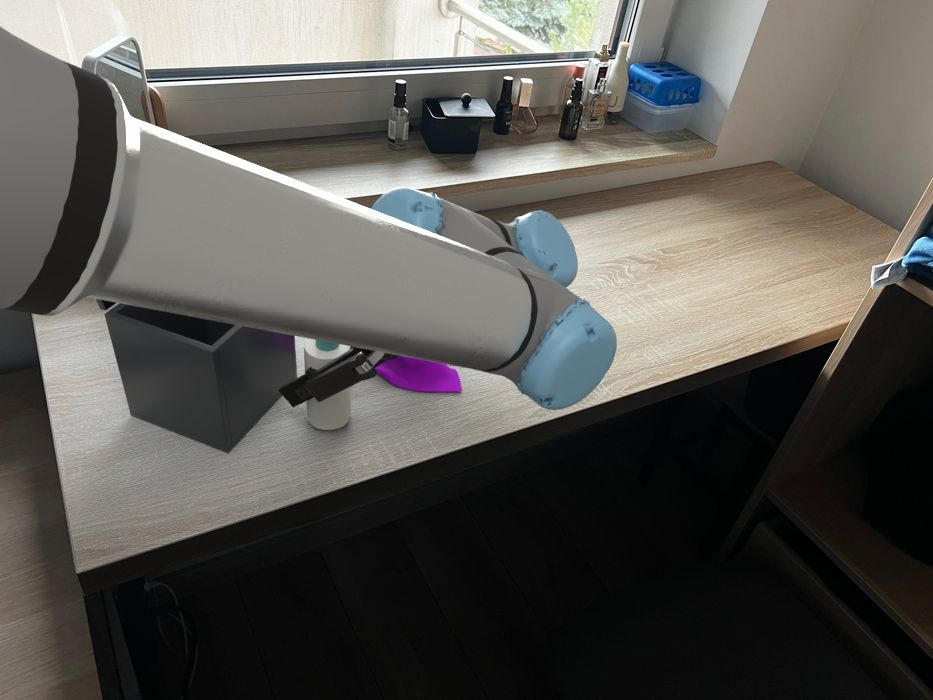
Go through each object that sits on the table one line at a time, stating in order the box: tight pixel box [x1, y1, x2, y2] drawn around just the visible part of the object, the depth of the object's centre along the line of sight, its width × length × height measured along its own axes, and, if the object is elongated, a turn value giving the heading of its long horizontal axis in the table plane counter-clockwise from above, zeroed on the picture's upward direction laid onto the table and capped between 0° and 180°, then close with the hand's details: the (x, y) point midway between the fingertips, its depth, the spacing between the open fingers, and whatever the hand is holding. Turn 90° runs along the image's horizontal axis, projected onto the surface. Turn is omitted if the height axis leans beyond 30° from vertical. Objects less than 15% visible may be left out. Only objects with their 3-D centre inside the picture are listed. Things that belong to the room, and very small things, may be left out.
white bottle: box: [303, 338, 352, 431], centre depth 84 cm, size 5×5×12 cm
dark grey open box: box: [103, 303, 298, 454], centre depth 85 cm, size 14×15×15 cm
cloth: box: [375, 356, 462, 393], centre depth 99 cm, size 22×19×6 cm
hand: (301, 382), depth 86 cm, fingers closed on white bottle, 5 cm apart
